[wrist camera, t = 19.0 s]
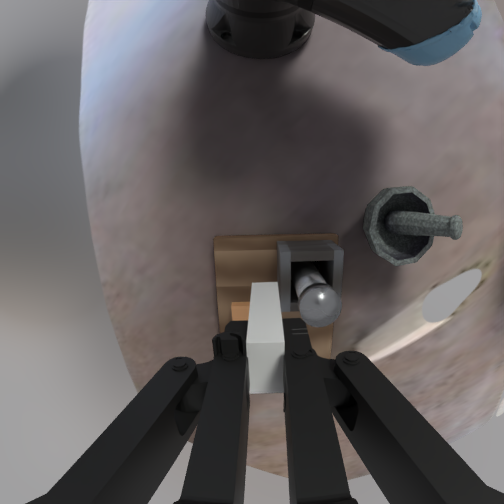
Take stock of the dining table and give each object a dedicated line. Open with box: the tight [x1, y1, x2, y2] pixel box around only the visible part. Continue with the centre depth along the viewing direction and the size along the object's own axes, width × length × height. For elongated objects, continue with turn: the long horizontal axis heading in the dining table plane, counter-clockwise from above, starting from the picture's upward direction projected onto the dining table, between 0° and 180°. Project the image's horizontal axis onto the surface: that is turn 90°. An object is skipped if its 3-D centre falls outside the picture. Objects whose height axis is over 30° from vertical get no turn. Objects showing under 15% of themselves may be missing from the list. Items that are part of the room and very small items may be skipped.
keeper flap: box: [231, 302, 250, 321], centre depth 39 cm, size 11×4×1 cm, turn 2°
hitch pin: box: [291, 261, 342, 327], centre depth 33 cm, size 4×4×14 cm
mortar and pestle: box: [363, 186, 463, 266], centre depth 33 cm, size 11×9×12 cm
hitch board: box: [213, 233, 344, 359], centre depth 38 cm, size 20×16×8 cm
